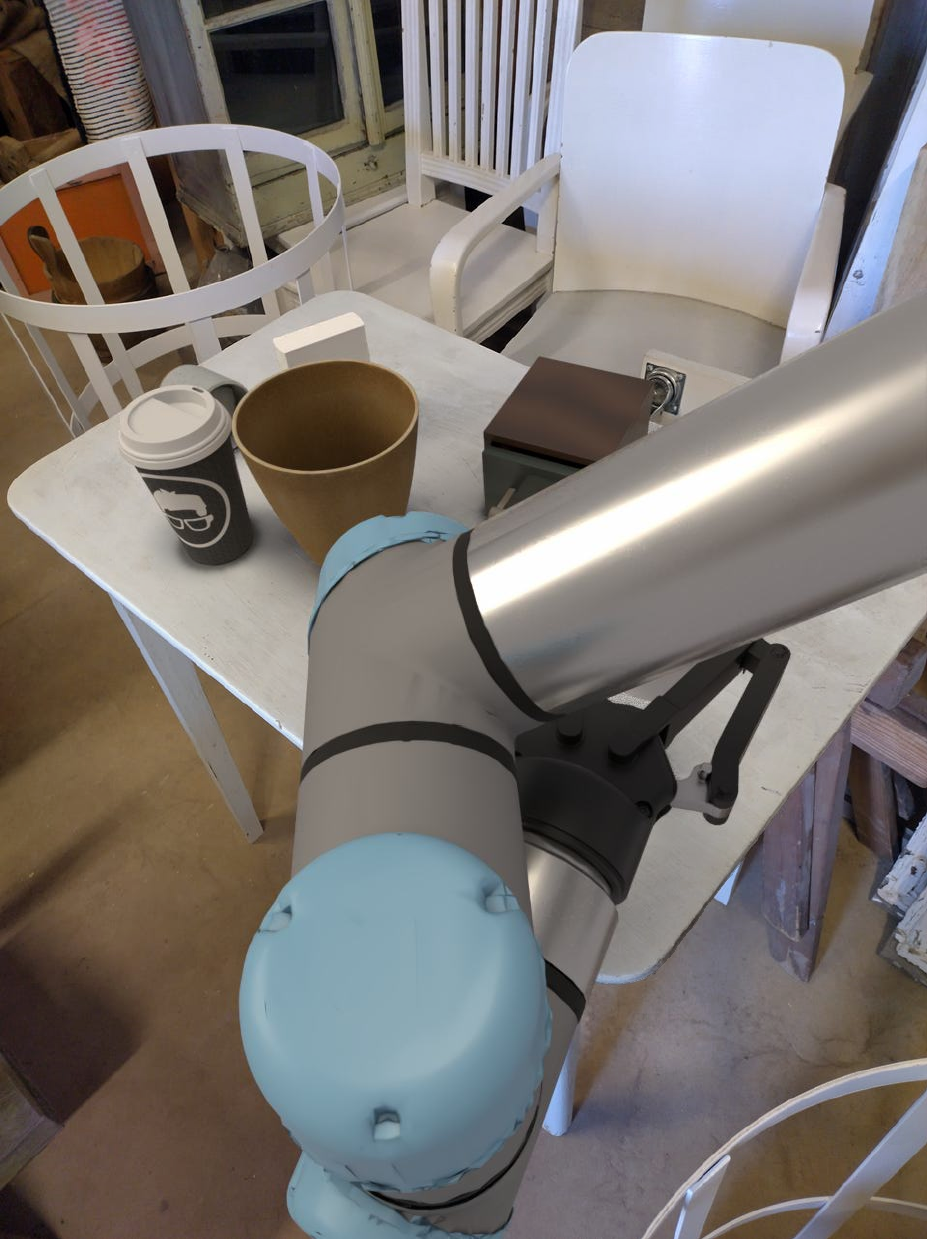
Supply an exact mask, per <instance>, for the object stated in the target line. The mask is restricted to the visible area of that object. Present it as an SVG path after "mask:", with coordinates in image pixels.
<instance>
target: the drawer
mask: <svg viewBox="0 0 927 1239" xmlns="http://www.w3.org/2000/svg"><path fill="white" fill-rule="evenodd" d="M481 462H482V463H481V464H482V480H483V497H484V514H485V515H484V516H485V518H487V519H489V518H491V517H493V516H494V515H496V514H498V513H500V512H502V511H504V510H506V509H508V508H510V507H511V506H513V505H515V504H517V503H519V502H521V501H523V500H525V499H527V498H528V497H530V496H532V495H534V494H536V493H538V492H540V491H542V490H544V489H545V488H547V487H549V486H551V485H553V484H555V483H557V482H559V481H561V480H563V479H564V478H566V477H568V476H570V475H572V474H574V473H576V472H578V471H580V470H581V469H583V468H585V467H587V465H583V464H579V463H575V462H572V461H568V460H564V459H560V458H556V457H552V456H549V455H545V454H541V453H537V452H533V451H529V450H526V449H522V448H518V447H514V446H510V445H506V444H502V443H501V448H497V447H494V446H490V445H487V446H486V448H485V449H484V448H483V450H482V452H481Z"/></svg>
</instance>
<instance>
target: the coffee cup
mask: <svg viewBox="0 0 927 1239" xmlns="http://www.w3.org/2000/svg"><path fill="white" fill-rule="evenodd" d="M118 425H119V426H118V427H119V428H118V430H117V446H118V450H119V454H120V455H121V457H122V458H123V460H124V461H126V462H127V463H129V464H131V465H132V466H134V468H135V469H136V471H137V473H138V474H139V476H140V477H141V479H142V480H143V482H144V484H145V486H146V487H147V489H148V490H149V492H150V494H151V495H152V497H153V498H154V500H155V502H156V503H157V505H158V507H159V508H160V510H161V512H162V514H163V515H164V517H165V519H166V520H167V522H168V523H169V525H170V527H171V528H172V530H173V531H174V534H175V535H176V536H177V538H178V540H179V541H180V543H181V545H182V546H183V548H184V550H185V551H186V553H187V554H188V556H189V557H190V558H191V559H192V560H193V561H194V562H196V563H198V564H201V565H208V566H218V565H223V564H228V563H230V562H232V561H234V560H235V559H238V558H240V557H241V556H242V555H243V554H245V553H246V552H247V551H248V549H249V548H250V547H251V546H252V543H253V540H254V530H253V526H252V525H253V524H252V522H251V517H250V513H249V509H248V505H247V501H246V497H245V492H244V489H243V488H244V487H243V485H242V480H241V476H240V472H239V468H238V463H237V459H236V456H235V452H234V449H233V447H232V443H231V438H230V432H231V428H232V419H231V416H230V414H229V413H228V411H227V410H226V409H225V407H224V406H223V405H222V404H221V403H220V402H219V401H218V400H217V399H215V398H213V396H212V395H211V394H210V393H209V392H208V391H206V390H204V389H202V388H200V387H197V386H192V385H171V386H165V387H161V388H159V387H158V388H155V389H152V390H150V391H147V392H145V393H143V394H141V395H139V396H138V397H136V398H135V399H133V400H132V401H131V402H130V403H128V404H127V405H126V407H125V408H124V409H123V410H122V412H121V414H120V416H119V421H118Z"/></svg>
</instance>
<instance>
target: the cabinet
mask: <svg viewBox="0 0 927 1239" xmlns="http://www.w3.org/2000/svg"><path fill="white" fill-rule="evenodd" d="M655 384H656V382H655V381H654V380H650V379H646V378H641V377H636V376H631V375H627V374H623V373H617V372H613V371H609V370H604V369H600V368H595V367H590V366H586V365H581V364H577V363H572V362H569V361H563V360H557V359H554V358H550V357H544V356H540V355H539V356H537V358H536V359H535V361H534V362H533V363H532V365H531V366H530V367H529V369H528V370H527V371H526V373H525V374H524V375H523V377H522V379H521V380H520V381H519V382H518V384H517V385H516V386H515V387H514V389H513V391H512V392H511V393H510V394H509V396H508V397H507V398H506V400H505V402H504V403H503V404H502V405H501V406H500V408H499V409H498V411H497V412H496V414H494V416H493V418H492V419H491V420H490V422H489V423H488V424H487V426H486V427H485V428H484V430H483V432H482V433H483V434H482V436H483V437H482V438H483V450H484V449H485V448H486V446H487V445H490V446H494V447H497V448H501V443H502V444H506V445H510V446H514V447H518V448H522V449H526V450H529V451H533V452H537V453H541V454H545V455H549V456H552V457H556V458H560V459H564V460H568V461H572V462H575V463H579V464H583V465H587V466H589V465H591V464H593V463H595V462H597V461H598V460H600V459H602V458H604V457H606V456H608V455H610V454H612V453H614V452H615V451H617V450H619V449H621V448H623V447H625V446H627V445H629V444H631V443H632V442H634V441H636V440H638V439H640V438H642V437H644V436H646V435H648V434H649V428H650V427H649V426H650V420H651V412H652V405H653V398H654V390H655Z"/></svg>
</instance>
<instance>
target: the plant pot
mask: <svg viewBox="0 0 927 1239" xmlns="http://www.w3.org/2000/svg"><path fill="white" fill-rule="evenodd" d="M248 391H249V392H248V393H247V394H246V395H245V396H244V397H243V398H242V399H241V401H240V402H239V404H238V406H237V407H236V409H235V412H234V415H233V419H232V433H233V436H234V439H235V441H236V444H237V448H238V450H239V452H240V454H241V456H242V459H243V460H244V462H245V464H246V465H247V467H248V470H249V471H250V473H251V476H252V477H253V479H254V480H255V482H256V484H257V486H258V488H259V489H260V491H261V492H262V494H263V496H264V498H265V499H266V501H267V503H269V505H270V506H271V508H272V510H273V511H274V513H275V514H276V516H277V517H278V518H279V520H280V521H281V523H282V524H283V526H284V527H285V528H286V529H287V531H288V533H290V535H291V537H292V538H293V539H294V540H295V541H296V542H297V544H299V547H301V549H302V550H304V552H305V553H306V554H307V555H308V556H309V557H310V558H311V559H312V560H313V562H314V563H316V565H317V566H319V568H322V565H323V563H324V561H325V558H326V556H327V554H328V552H329V551H330V549H331V548H332V546H333V545H334V544H335V543H336V542H337V541H338V539H339V538H340V537H341V536H342V535H344V534H345V533H346V532H347V531H348V530H350V529H351V528H353V527H354V526H356V525H358V524H359V523H361V522H363V521H366V520H368V519H371V518H374V517H376V516H379V515H383V516H385V517H394V516H405V515H406V514H407V510H408V509H407V508H408V505H409V501H410V496H411V490H412V486H413V485H412V484H413V480H414V479H413V478H414V473H415V466H416V456H417V444H418V432H419V416H420V415H419V413H420V403H419V402H420V401H419V398H418V394H417V392H416V390H415V388H414V387H413V386H412V384H411V383H410V381H409V380H407V379H406V378H405V377H404V376H403V375H401V374H400V373H398V372H397V371H395V370H393V369H391V368H390V367H387V366H385V365H382V364H379V363H375V362H371V361H370V362H366V361H361V360H353V359H333V360H322V361H316V362H310V363H306V364H301V365H297V366H294V367H291V368H288V369H285V370H283V371H281V370H280V371H278V372H276V373H274V374H273V375H270V376H269V377H267V378H265V379H263V380H261V381H259V383H257V384H255V386H253V387H252V388H251V389H250V390H248Z"/></svg>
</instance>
